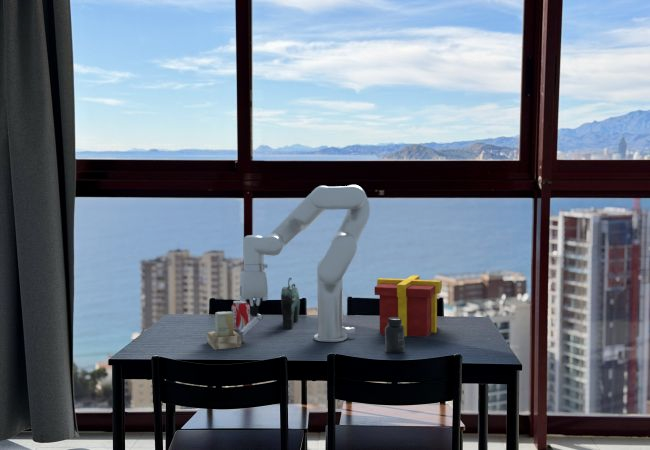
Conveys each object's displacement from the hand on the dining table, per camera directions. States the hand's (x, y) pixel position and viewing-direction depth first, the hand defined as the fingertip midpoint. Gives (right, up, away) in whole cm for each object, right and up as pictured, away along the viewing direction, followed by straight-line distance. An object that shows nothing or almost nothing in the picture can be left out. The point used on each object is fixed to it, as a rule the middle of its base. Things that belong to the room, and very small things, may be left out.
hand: (254, 315), depth 326 cm
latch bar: (-1, -4, 0) cm, 4 cm away
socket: (-11, -10, -7) cm, 16 cm away
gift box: (+60, -8, +15) cm, 63 cm away
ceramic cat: (+13, -7, +28) cm, 32 cm away
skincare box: (-10, -10, -7) cm, 16 cm away
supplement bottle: (+52, -11, -20) cm, 57 cm away
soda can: (-7, -8, +17) cm, 20 cm away
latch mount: (-6, -10, -1) cm, 11 cm away
